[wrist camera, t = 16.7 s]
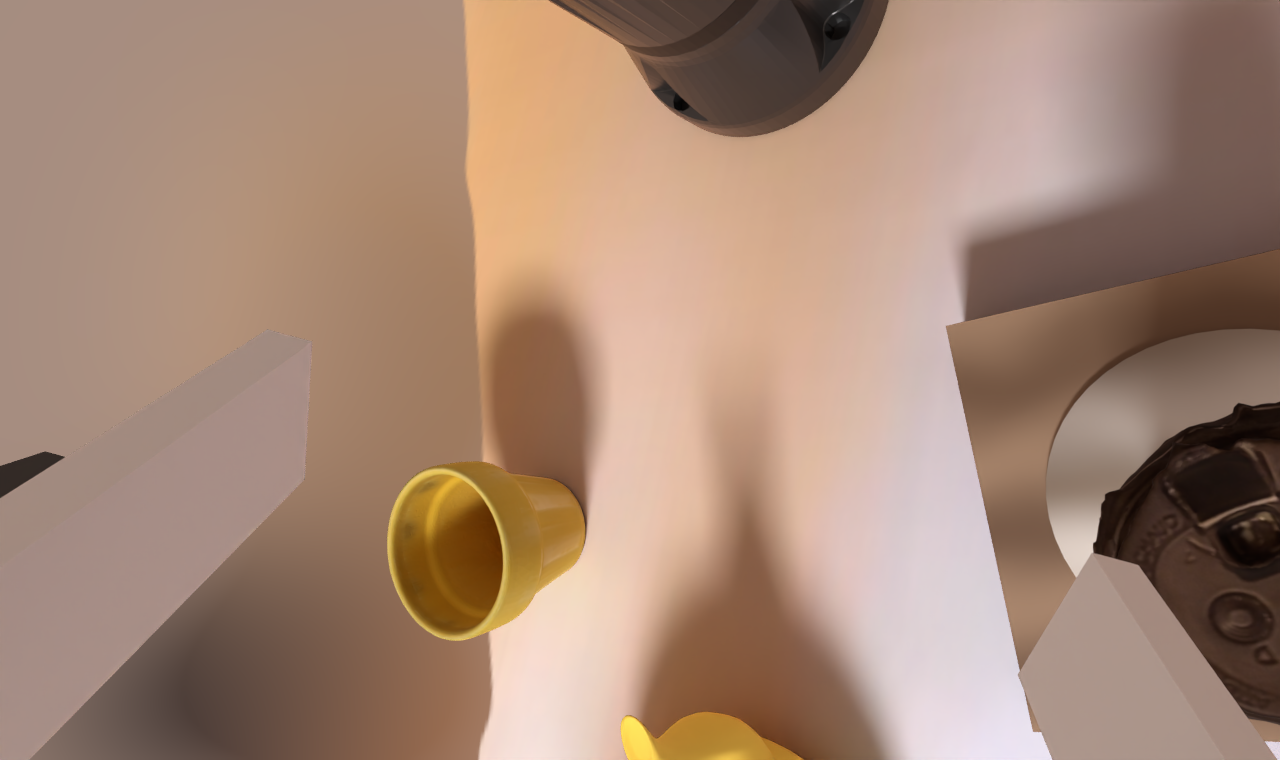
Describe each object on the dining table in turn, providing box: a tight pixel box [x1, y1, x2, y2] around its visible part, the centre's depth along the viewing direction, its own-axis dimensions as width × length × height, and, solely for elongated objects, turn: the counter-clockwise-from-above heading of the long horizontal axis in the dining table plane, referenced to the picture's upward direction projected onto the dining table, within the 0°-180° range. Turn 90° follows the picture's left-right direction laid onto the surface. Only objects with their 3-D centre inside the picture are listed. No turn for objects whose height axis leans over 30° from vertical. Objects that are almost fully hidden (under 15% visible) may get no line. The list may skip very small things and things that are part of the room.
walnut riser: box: [946, 249, 1280, 742], centre depth 32 cm, size 18×18×4 cm
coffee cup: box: [1093, 402, 1280, 725], centre depth 24 cm, size 9×8×13 cm
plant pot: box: [387, 461, 585, 640], centre depth 50 cm, size 10×10×10 cm
